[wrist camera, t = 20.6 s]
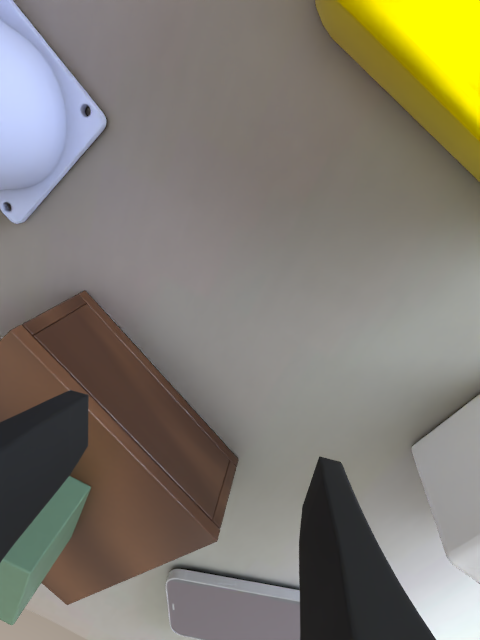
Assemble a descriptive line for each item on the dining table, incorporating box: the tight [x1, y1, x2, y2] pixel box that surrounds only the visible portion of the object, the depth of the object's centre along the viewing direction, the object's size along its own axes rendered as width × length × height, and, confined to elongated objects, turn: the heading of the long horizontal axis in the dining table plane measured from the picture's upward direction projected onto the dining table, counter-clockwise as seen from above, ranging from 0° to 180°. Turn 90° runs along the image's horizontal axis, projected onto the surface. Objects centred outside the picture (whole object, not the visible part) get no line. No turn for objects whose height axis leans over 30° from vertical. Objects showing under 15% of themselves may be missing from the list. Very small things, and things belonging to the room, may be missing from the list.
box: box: [22, 291, 238, 529], centre depth 23 cm, size 12×14×5 cm
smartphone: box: [165, 569, 300, 640], centre depth 30 cm, size 7×1×15 cm
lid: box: [0, 325, 220, 605], centre depth 21 cm, size 13×14×1 cm
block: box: [0, 476, 91, 625], centre depth 18 cm, size 5×5×5 cm
